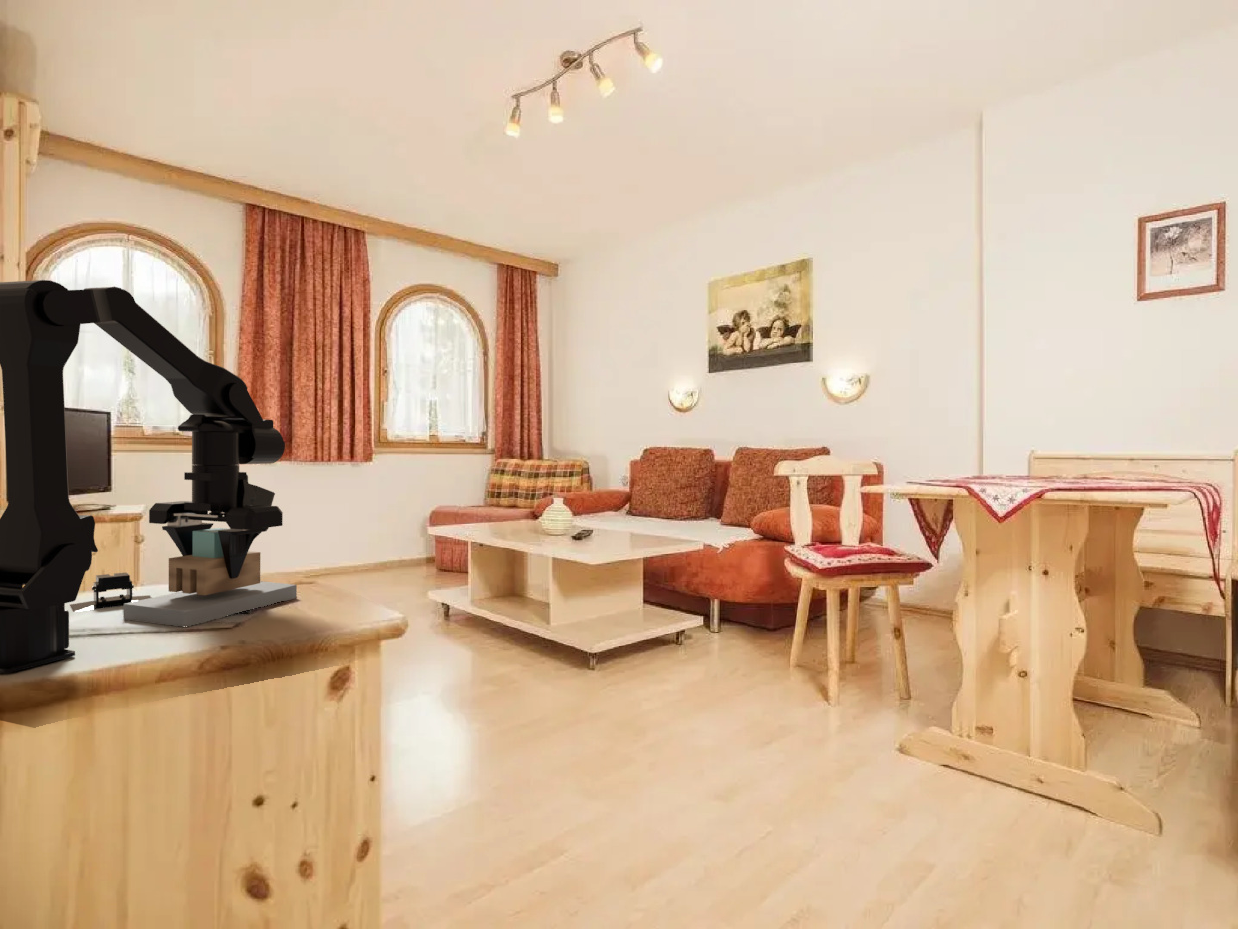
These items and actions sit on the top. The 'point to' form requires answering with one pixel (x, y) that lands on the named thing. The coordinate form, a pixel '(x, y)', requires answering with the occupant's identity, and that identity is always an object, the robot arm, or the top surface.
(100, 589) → the black open frame block
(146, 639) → the top surface
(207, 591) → the wooden slotted block
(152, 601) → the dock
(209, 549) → the teal cube
